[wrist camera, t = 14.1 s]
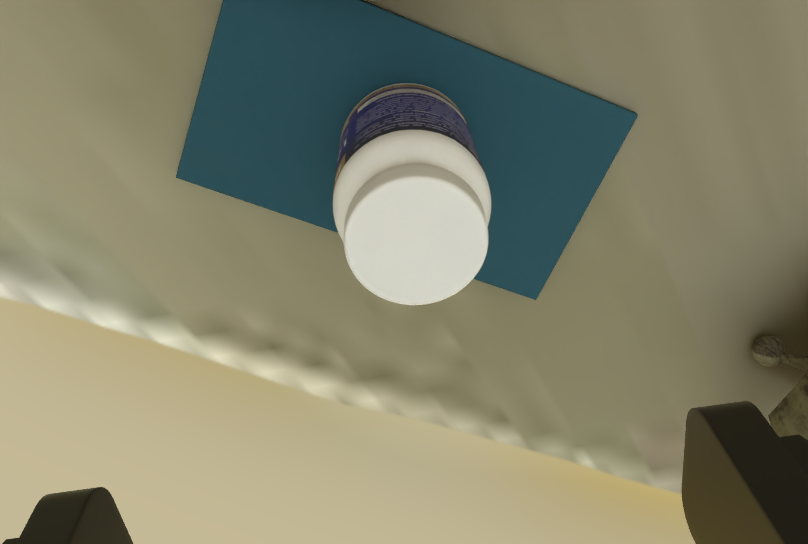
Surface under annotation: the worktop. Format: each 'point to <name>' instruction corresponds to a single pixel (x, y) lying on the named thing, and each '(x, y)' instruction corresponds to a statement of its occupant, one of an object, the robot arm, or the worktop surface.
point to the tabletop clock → (803, 405)
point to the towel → (373, 69)
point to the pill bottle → (411, 195)
